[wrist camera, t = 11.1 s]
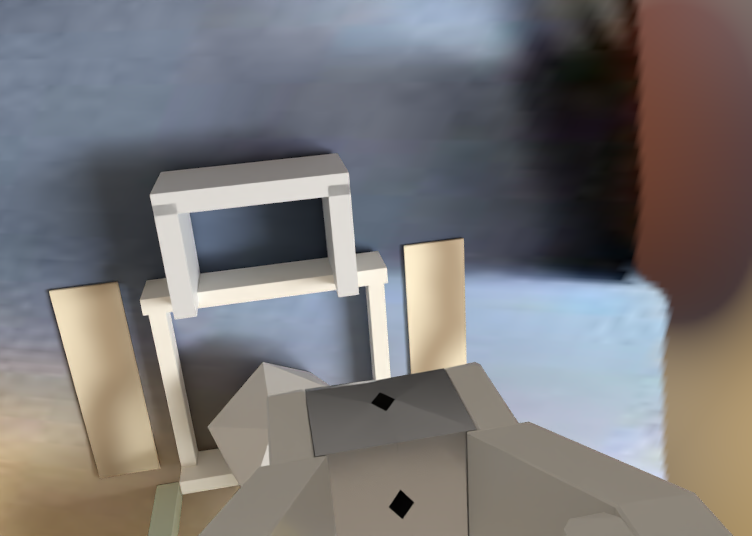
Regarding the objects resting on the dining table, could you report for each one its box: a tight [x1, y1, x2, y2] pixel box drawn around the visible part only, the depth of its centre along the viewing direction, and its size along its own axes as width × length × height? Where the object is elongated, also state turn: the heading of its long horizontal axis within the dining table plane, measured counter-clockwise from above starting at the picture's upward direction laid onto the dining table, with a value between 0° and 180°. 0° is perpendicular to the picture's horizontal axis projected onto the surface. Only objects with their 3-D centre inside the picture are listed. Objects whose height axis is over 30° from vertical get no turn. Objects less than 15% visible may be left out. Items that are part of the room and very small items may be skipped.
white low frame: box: [140, 153, 391, 495], centre depth 42 cm, size 14×21×5 cm
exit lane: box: [49, 238, 466, 478], centre depth 46 cm, size 26×14×1 cm, turn 94°
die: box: [208, 362, 329, 487], centre depth 44 cm, size 8×9×10 cm
